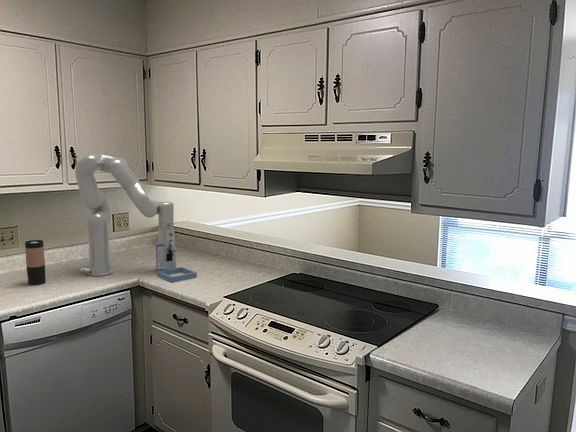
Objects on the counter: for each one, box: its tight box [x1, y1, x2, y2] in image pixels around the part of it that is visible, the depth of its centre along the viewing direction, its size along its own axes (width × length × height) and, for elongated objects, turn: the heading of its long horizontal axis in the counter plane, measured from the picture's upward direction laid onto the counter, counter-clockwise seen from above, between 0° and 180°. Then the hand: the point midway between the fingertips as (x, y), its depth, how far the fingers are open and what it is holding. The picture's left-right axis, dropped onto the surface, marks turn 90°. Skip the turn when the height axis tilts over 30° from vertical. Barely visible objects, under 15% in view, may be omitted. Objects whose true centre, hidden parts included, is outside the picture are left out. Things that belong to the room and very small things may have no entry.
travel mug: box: [24, 239, 46, 286], centre depth 218 cm, size 8×8×20 cm
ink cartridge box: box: [155, 243, 177, 270], centre depth 242 cm, size 10×6×14 cm, turn 114°
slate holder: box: [156, 266, 198, 283], centre depth 233 cm, size 14×14×2 cm
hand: (165, 259), depth 243 cm, fingers closed on ink cartridge box, 6 cm apart
